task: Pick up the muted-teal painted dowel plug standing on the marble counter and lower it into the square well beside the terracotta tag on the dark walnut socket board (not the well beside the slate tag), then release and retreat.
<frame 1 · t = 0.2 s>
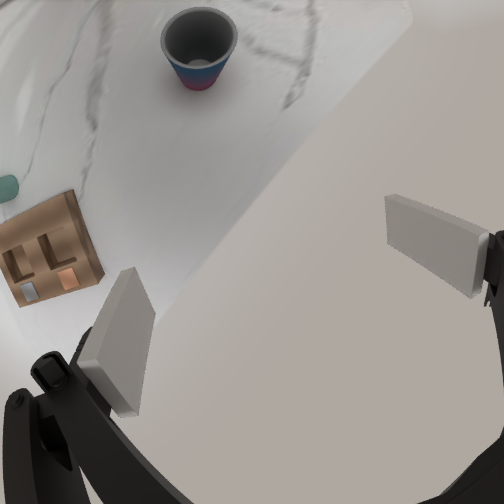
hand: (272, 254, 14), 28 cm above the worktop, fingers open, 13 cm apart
cup: (199, 74, 33), on the worktop
plug: (10, 187, 33), on the worktop
socket board: (45, 249, 38), on the worktop
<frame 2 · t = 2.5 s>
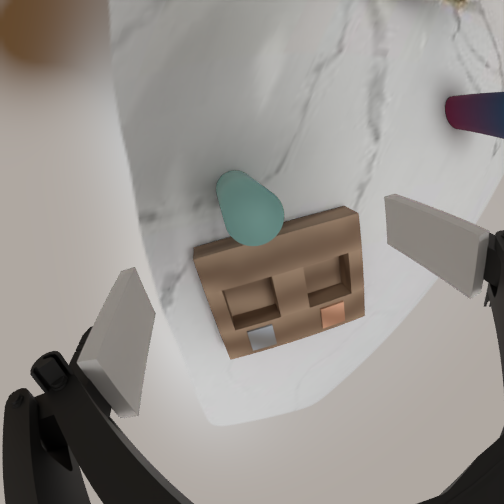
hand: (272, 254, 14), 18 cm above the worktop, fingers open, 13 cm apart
cup: (454, 112, 30), on the worktop
plug: (235, 189, 30), on the worktop
socket board: (283, 279, 35), on the worktop
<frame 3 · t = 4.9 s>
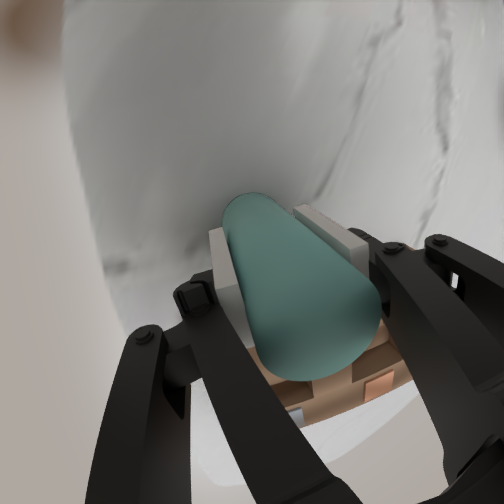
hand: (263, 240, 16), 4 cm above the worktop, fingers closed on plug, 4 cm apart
plug: (252, 222, 19), on the worktop, touching gripper
socket board: (316, 344, 24), on the worktop
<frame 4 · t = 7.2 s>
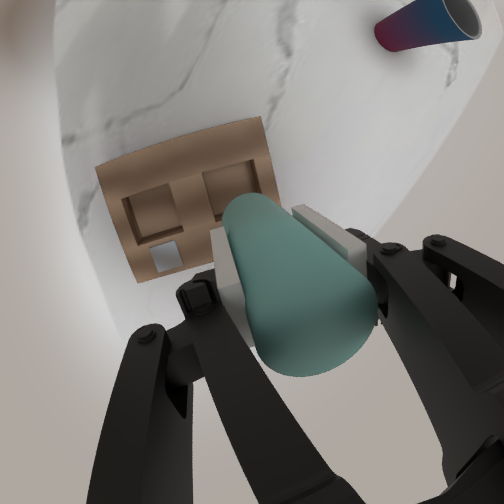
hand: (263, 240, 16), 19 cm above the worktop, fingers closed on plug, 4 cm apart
cup: (388, 36, 28), on the worktop
plug: (251, 222, 19), point 15 cm above the worktop, touching gripper
socket board: (193, 196, 33), on the worktop
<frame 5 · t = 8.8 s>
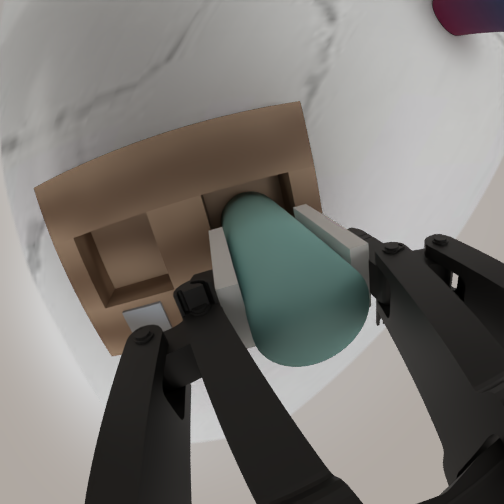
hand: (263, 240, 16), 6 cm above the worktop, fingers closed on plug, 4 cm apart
cup: (446, 16, 17), on the worktop
plug: (250, 220, 20), point 2 cm above the worktop, touching gripper
socket board: (188, 228, 21), on the worktop
when the fingers open (5 cm above the worktop, at t = 9.8 s): plug stays where it is, resting on socket board.
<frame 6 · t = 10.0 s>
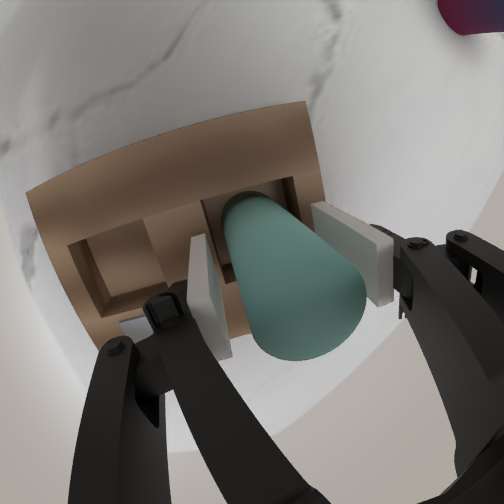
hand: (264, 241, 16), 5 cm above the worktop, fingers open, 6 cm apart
cup: (452, 15, 16), on the worktop
plug: (250, 219, 20), point 1 cm above the worktop, touching socket board
socket board: (187, 235, 20), on the worktop
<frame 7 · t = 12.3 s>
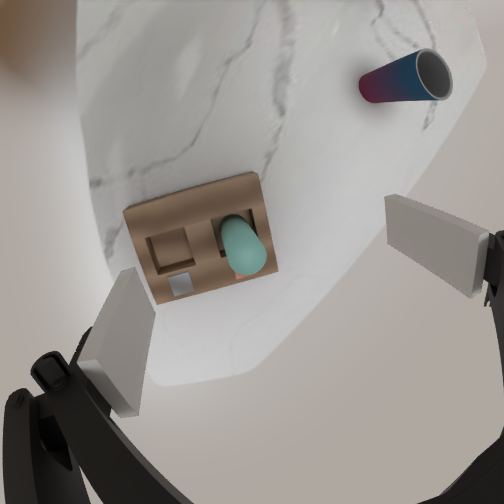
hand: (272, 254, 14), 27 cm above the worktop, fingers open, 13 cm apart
cup: (371, 88, 38), on the worktop
plug: (233, 227, 41), resting on socket board
socket board: (202, 235, 41), on the worktop
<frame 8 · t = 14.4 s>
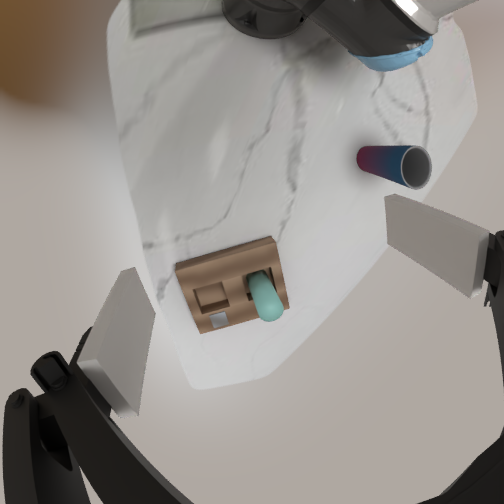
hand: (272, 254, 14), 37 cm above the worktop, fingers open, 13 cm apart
cup: (366, 158, 51), on the worktop
plug: (256, 277, 55), resting on socket board
socket board: (233, 282, 55), on the worktop
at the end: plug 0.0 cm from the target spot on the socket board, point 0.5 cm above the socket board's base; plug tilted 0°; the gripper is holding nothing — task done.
